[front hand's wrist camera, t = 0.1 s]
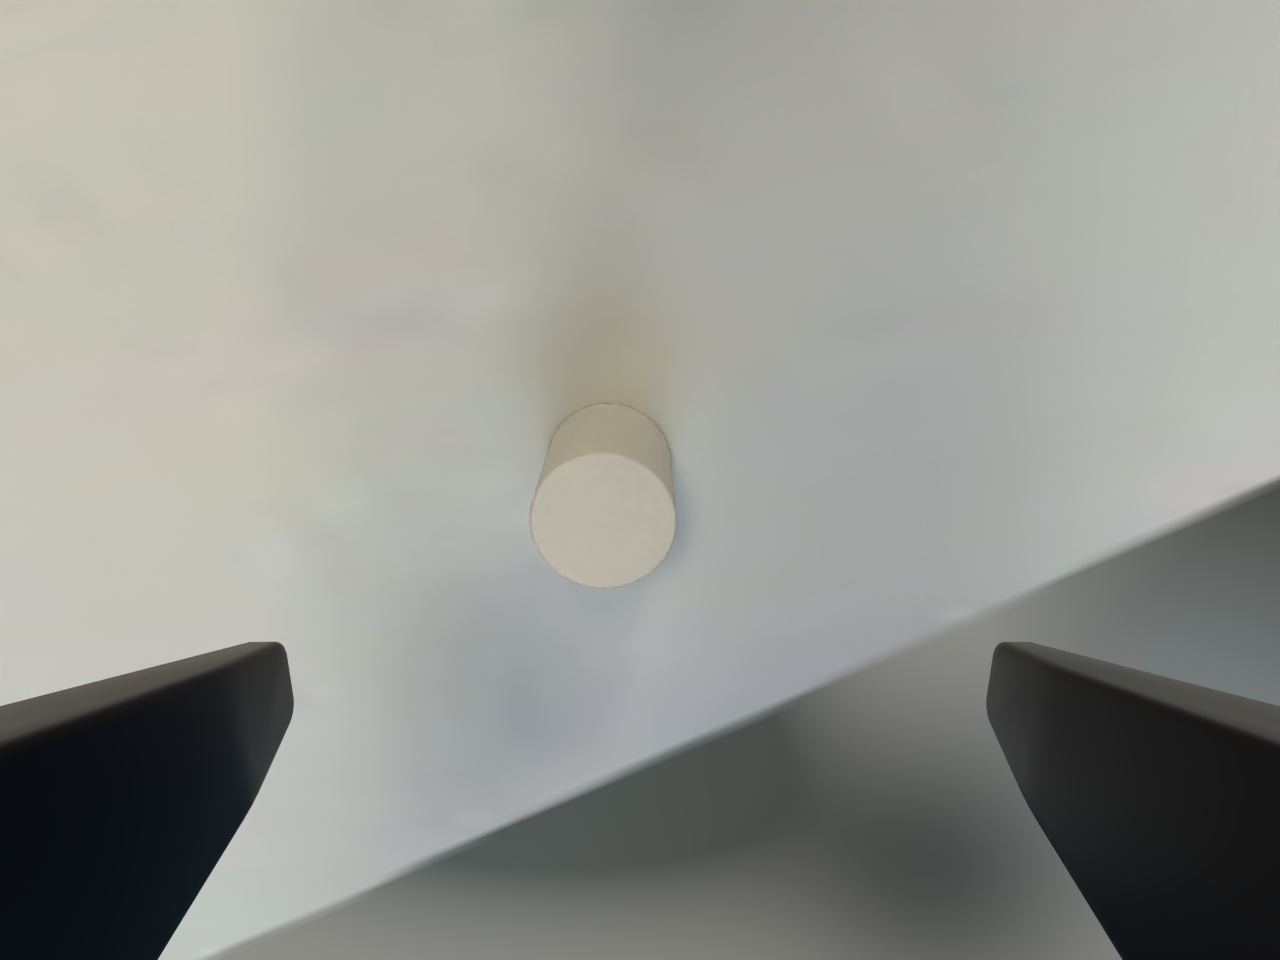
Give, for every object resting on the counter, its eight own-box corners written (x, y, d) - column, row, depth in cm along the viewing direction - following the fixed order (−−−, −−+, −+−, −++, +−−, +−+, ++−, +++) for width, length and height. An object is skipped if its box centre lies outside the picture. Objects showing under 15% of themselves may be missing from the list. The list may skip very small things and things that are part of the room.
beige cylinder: (531, 420, 25) (510, 474, 21) (652, 389, 25) (655, 437, 21) (567, 532, 26) (553, 603, 22) (683, 503, 26) (692, 570, 22)
